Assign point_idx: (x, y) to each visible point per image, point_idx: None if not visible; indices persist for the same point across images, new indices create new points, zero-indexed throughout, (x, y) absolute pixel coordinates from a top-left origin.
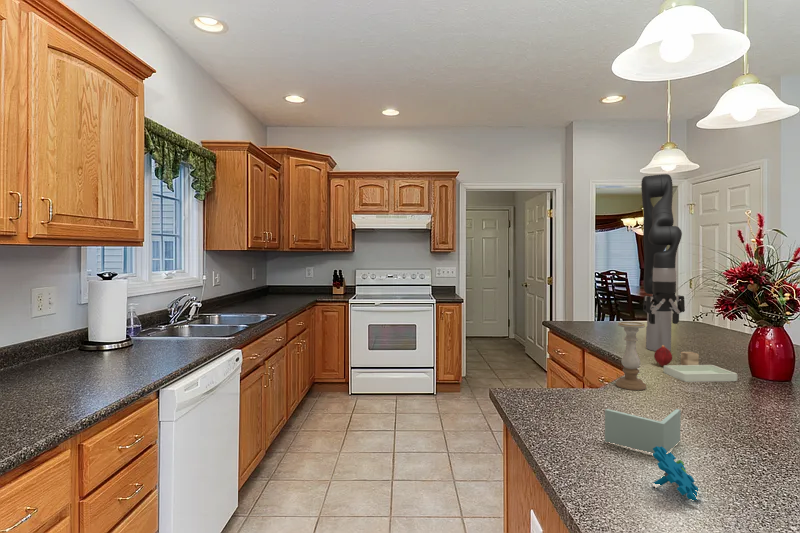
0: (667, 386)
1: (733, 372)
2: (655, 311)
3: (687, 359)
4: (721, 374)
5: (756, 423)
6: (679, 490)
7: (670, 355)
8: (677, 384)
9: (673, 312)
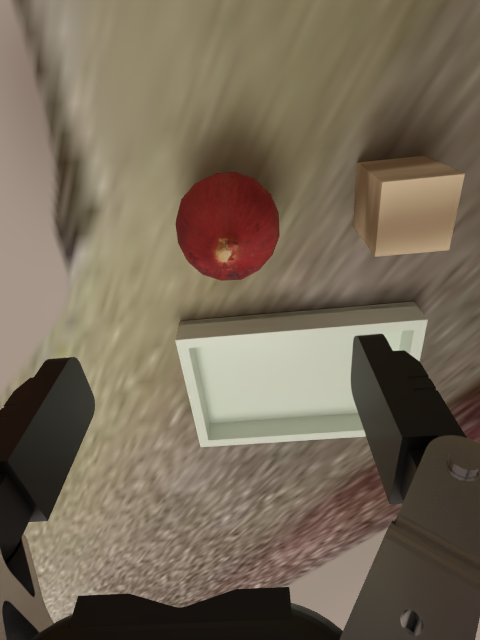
0: (126, 462)
1: None
2: (30, 573)
3: (366, 239)
4: (342, 435)
5: (205, 598)
6: None
7: (253, 272)
8: (166, 446)
9: (425, 451)
